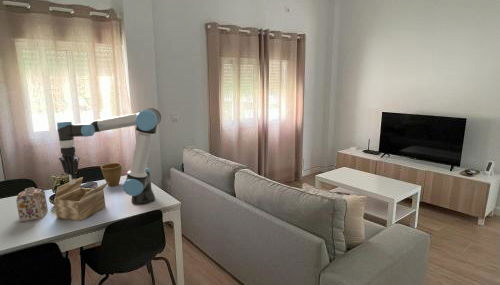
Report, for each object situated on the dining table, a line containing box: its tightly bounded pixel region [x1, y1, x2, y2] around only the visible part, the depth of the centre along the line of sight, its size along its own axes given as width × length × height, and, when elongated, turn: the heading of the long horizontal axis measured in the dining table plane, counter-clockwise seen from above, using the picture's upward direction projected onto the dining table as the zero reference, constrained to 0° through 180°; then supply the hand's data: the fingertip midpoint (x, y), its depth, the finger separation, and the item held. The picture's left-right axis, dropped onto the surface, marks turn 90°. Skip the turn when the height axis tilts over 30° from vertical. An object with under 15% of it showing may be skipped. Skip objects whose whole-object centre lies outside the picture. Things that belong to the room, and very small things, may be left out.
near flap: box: [80, 182, 109, 201], centre depth 184 cm, size 8×19×1 cm
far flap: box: [54, 176, 84, 199], centre depth 188 cm, size 8×19×1 cm
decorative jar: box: [15, 186, 49, 222], centre depth 184 cm, size 12×12×18 cm
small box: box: [80, 181, 99, 189], centre depth 212 cm, size 11×6×10 cm, turn 168°
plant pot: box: [100, 162, 123, 188], centre depth 237 cm, size 15×15×16 cm
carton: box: [53, 188, 107, 222], centre depth 189 cm, size 18×21×12 cm
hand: (72, 183), depth 187 cm, fingers closed
